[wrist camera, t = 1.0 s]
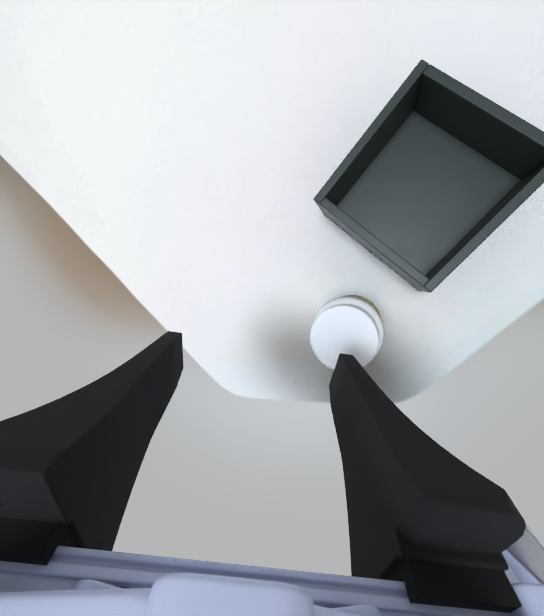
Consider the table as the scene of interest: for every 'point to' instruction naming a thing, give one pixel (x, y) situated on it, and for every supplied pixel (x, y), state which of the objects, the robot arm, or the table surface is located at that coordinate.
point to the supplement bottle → (347, 330)
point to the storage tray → (433, 176)
